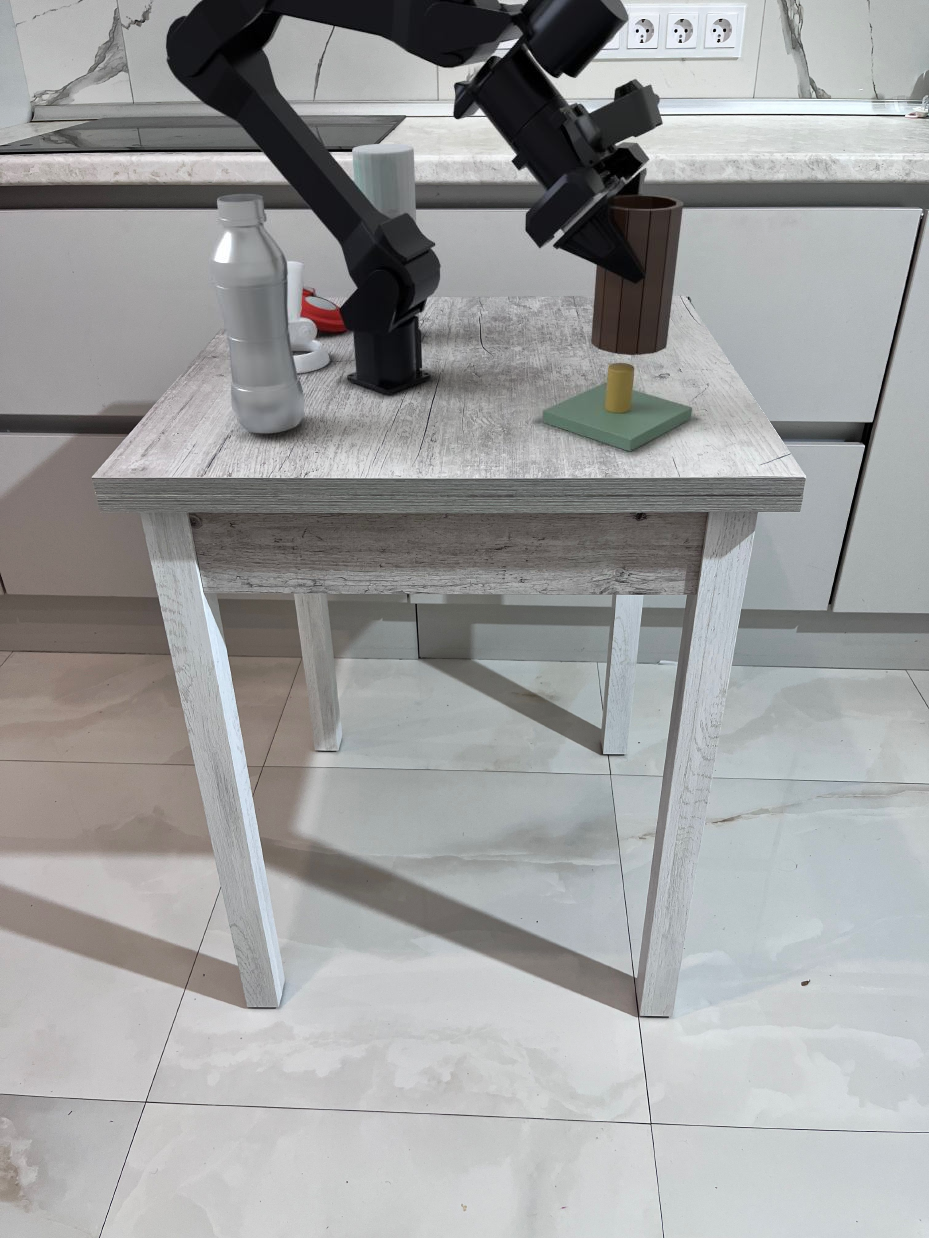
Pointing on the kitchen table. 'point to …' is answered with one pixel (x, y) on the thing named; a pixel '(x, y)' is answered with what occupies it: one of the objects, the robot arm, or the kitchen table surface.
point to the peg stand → (617, 412)
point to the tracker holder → (321, 311)
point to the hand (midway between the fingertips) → (651, 269)
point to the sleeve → (641, 310)
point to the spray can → (386, 178)
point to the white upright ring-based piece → (302, 325)
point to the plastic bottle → (255, 317)
